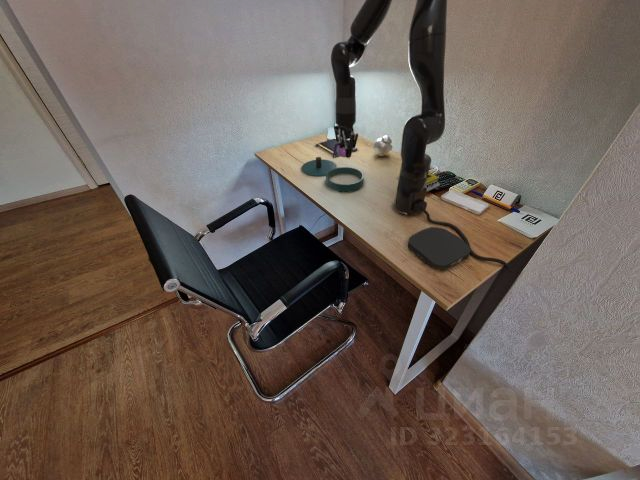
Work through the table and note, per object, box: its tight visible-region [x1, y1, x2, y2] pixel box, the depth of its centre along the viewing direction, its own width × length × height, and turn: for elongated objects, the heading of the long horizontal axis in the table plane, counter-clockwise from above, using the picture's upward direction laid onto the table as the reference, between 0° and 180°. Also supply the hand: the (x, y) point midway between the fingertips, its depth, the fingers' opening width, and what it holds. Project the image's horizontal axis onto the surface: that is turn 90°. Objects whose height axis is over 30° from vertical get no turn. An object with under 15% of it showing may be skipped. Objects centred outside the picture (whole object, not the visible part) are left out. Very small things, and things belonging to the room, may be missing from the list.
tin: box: [325, 166, 365, 194], centre depth 114 cm, size 16×16×4 cm
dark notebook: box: [315, 138, 358, 157], centre depth 143 cm, size 20×2×15 cm
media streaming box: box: [407, 226, 471, 271], centre depth 80 cm, size 15×15×3 cm
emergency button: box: [425, 172, 441, 193], centre depth 111 cm, size 9×4×15 cm
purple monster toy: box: [332, 142, 353, 159], centre depth 105 cm, size 7×5×9 cm
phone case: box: [440, 189, 490, 216], centre depth 98 cm, size 7×1×15 cm
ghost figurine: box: [372, 135, 393, 157], centre depth 130 cm, size 9×10×10 cm
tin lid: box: [301, 156, 338, 177], centre depth 124 cm, size 17×17×6 cm
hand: (345, 155), depth 106 cm, fingers closed on purple monster toy, 4 cm apart
